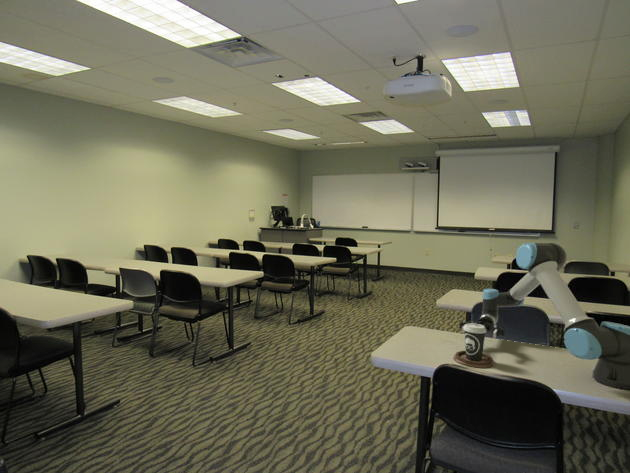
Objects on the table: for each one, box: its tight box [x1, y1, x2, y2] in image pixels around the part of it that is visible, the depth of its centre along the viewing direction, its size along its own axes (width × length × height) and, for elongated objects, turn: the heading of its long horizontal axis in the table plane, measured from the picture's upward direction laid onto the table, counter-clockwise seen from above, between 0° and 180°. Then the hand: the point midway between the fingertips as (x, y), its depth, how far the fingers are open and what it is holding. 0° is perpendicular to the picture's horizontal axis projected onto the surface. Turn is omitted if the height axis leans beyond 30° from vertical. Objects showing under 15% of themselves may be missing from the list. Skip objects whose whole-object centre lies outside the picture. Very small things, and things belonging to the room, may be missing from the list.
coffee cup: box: [464, 322, 488, 361], centre depth 179 cm, size 10×10×15 cm
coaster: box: [453, 350, 495, 369], centre depth 179 cm, size 17×17×2 cm
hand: (478, 333), depth 186 cm, fingers open, 13 cm apart
